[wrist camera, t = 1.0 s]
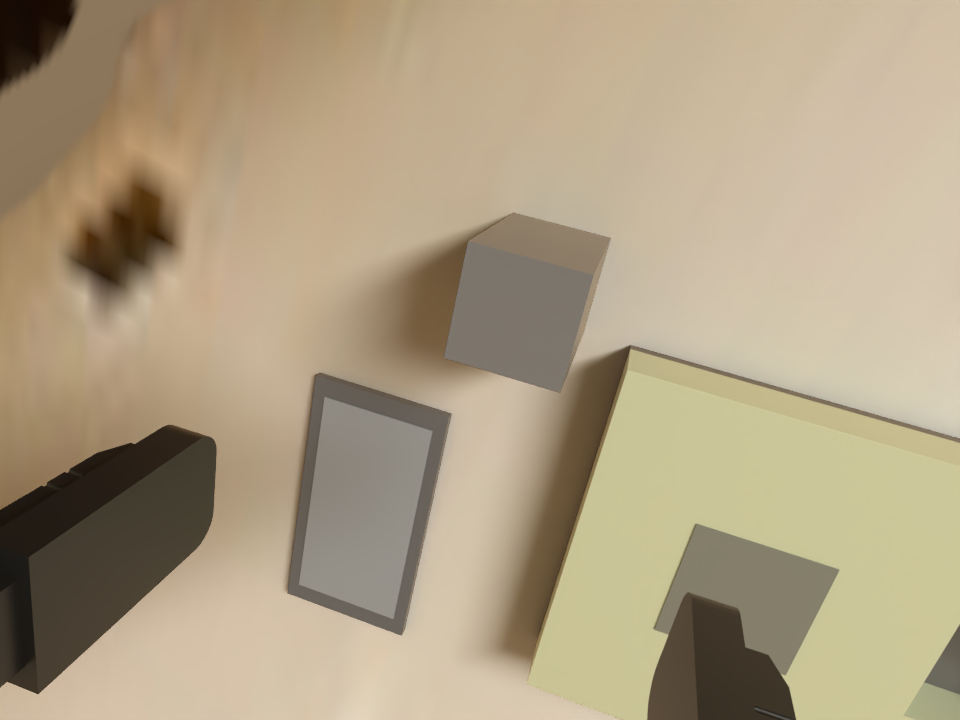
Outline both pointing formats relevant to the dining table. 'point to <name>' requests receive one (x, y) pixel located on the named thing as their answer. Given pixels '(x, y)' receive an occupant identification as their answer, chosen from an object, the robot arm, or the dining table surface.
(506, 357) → the block
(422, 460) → the phone
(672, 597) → the outlet plate
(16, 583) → the robot arm
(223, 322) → the dining table surface
